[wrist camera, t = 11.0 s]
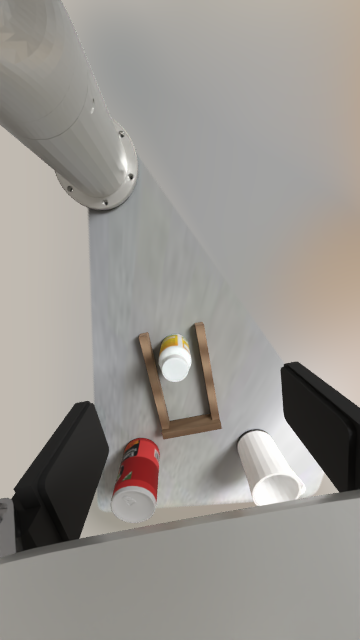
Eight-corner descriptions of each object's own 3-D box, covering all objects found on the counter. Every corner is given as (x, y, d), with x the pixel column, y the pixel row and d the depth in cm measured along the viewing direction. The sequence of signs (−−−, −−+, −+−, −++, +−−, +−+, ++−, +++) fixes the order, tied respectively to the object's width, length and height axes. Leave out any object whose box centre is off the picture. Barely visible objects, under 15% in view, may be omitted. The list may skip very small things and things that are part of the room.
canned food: (134, 431, 44) (122, 483, 33) (166, 445, 45) (164, 500, 34) (118, 456, 45) (102, 513, 35) (149, 469, 47) (143, 529, 36)
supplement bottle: (192, 338, 39) (198, 360, 30) (182, 362, 40) (185, 390, 31) (166, 329, 38) (164, 348, 29) (157, 353, 39) (152, 380, 30)
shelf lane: (140, 333, 38) (137, 339, 35) (202, 321, 38) (204, 326, 35) (164, 428, 44) (163, 439, 41) (218, 418, 44) (221, 428, 41)
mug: (230, 456, 46) (245, 507, 36) (241, 424, 44) (261, 469, 34) (274, 462, 47) (301, 514, 37) (287, 432, 45) (319, 478, 35)
